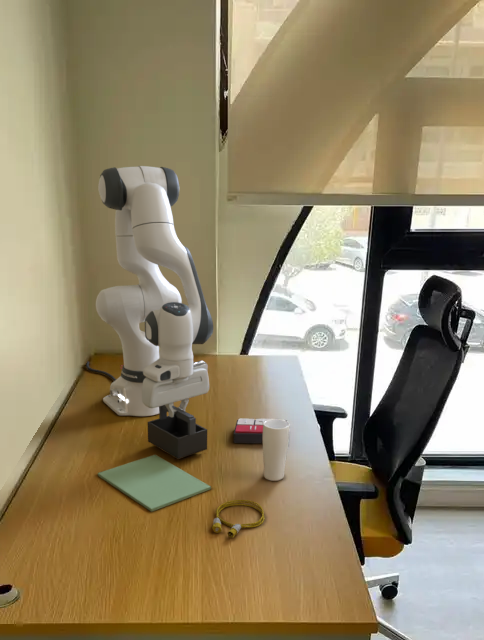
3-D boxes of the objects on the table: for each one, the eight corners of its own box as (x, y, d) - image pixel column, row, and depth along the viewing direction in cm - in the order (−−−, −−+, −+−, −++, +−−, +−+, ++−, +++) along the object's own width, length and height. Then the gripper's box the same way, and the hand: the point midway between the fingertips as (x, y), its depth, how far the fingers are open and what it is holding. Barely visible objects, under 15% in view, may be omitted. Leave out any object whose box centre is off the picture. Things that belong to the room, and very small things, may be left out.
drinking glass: (272, 468, 183) (275, 416, 177) (292, 477, 179) (295, 424, 172) (255, 476, 179) (257, 423, 172) (274, 485, 175) (277, 431, 168)
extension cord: (192, 520, 158) (192, 513, 157) (241, 499, 168) (241, 491, 167) (228, 542, 150) (228, 534, 149) (277, 518, 160) (278, 510, 159)
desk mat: (97, 475, 177) (97, 472, 177) (155, 457, 188) (155, 454, 188) (151, 511, 161) (151, 508, 161) (210, 489, 172) (210, 486, 172)
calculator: (237, 416, 206) (287, 417, 204) (237, 430, 208) (287, 430, 206) (233, 431, 196) (285, 431, 195) (233, 445, 198) (285, 445, 196)
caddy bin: (147, 441, 193) (146, 405, 188) (176, 432, 199) (176, 397, 194) (177, 459, 184) (177, 421, 179) (207, 449, 190) (207, 412, 185)
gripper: (199, 356, 189) (199, 403, 195) (137, 370, 177) (139, 420, 183) (214, 362, 185) (213, 409, 191) (151, 377, 173) (153, 427, 179)
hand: (176, 415), depth 187 cm, fingers closed on caddy bin
